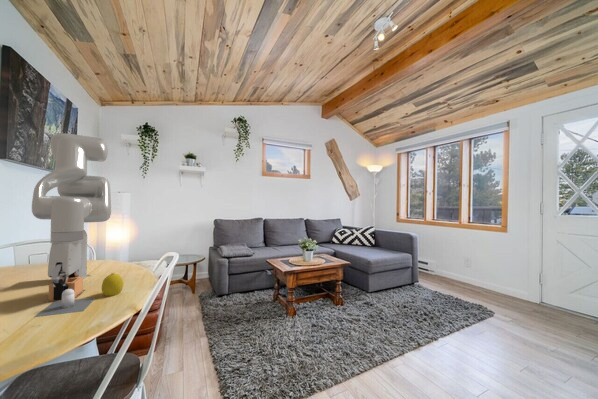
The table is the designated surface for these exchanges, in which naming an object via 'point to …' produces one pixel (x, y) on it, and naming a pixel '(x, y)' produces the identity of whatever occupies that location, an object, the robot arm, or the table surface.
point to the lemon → (112, 285)
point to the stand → (74, 297)
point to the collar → (69, 286)
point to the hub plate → (59, 310)
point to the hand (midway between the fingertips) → (66, 294)
